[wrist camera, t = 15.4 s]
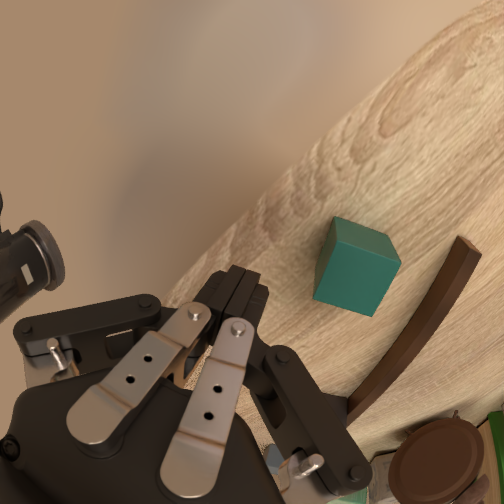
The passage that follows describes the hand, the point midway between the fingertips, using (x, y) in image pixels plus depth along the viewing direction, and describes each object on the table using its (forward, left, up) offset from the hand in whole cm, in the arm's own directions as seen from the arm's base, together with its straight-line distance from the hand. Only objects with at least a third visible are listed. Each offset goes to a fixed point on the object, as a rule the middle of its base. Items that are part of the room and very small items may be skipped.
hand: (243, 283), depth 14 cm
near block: (+5, +4, -8) cm, 10 cm away
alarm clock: (+39, 0, -8) cm, 40 cm away
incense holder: (+48, -11, -8) cm, 50 cm away
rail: (+23, -8, -8) cm, 26 cm away
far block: (+31, -26, -8) cm, 42 cm away
